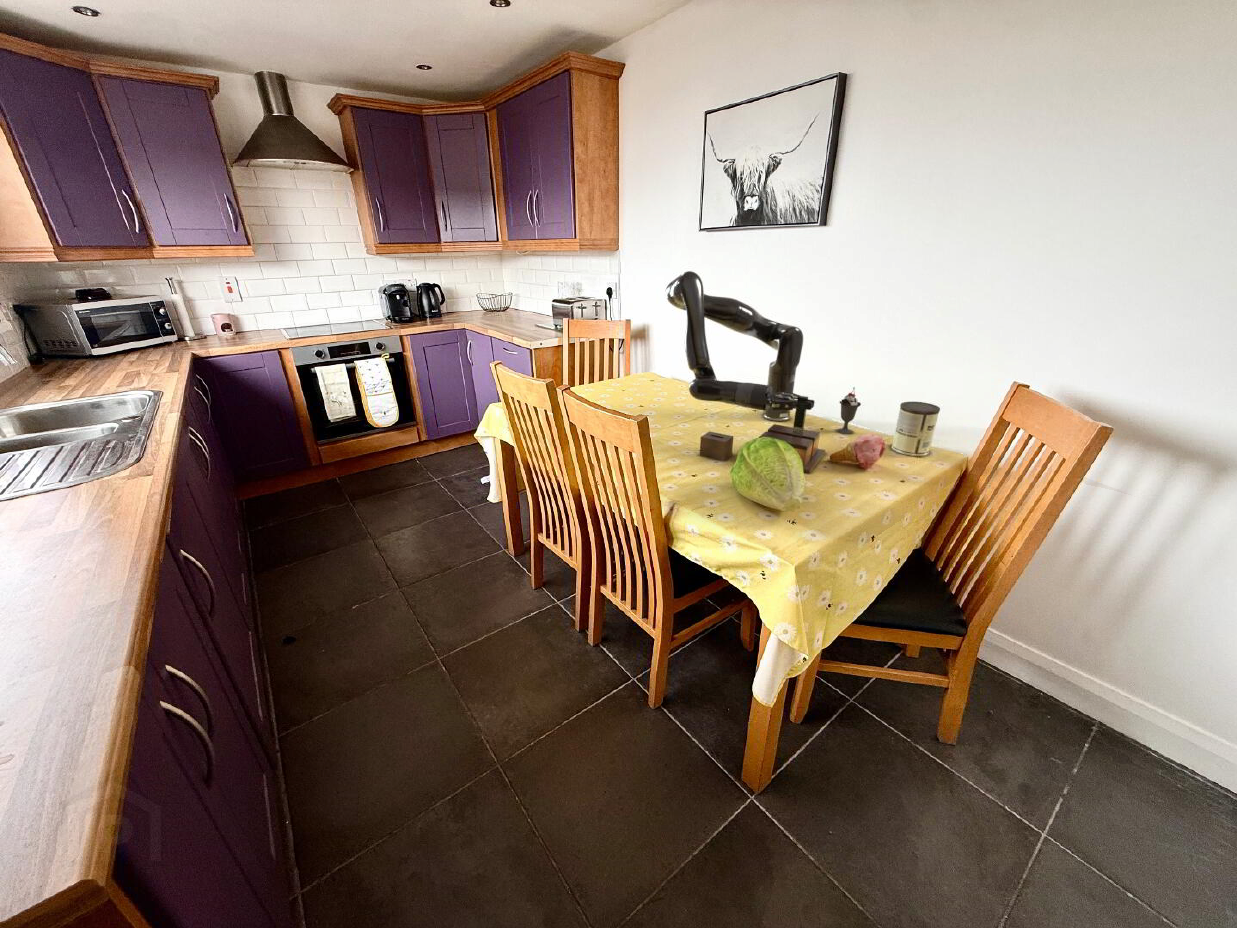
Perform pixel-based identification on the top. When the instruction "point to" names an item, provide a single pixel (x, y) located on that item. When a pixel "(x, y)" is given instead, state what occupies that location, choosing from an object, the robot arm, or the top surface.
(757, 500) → the lettuce
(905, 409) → the coffee can
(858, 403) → the sundae
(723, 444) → the knife block
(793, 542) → the top surface
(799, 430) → the knife
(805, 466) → the slotted wooden block
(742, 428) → the top surface
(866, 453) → the ice cream
